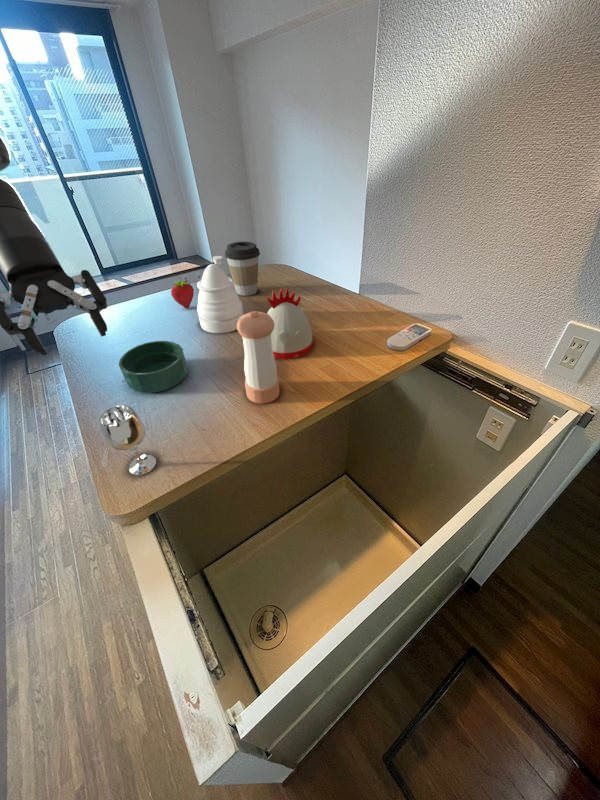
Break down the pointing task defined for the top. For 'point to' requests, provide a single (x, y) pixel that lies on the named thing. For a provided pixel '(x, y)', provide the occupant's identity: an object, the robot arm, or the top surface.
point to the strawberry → (182, 293)
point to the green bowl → (154, 366)
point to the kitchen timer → (289, 327)
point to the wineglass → (126, 435)
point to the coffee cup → (243, 266)
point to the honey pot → (218, 300)
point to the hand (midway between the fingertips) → (75, 343)
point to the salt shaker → (259, 357)
